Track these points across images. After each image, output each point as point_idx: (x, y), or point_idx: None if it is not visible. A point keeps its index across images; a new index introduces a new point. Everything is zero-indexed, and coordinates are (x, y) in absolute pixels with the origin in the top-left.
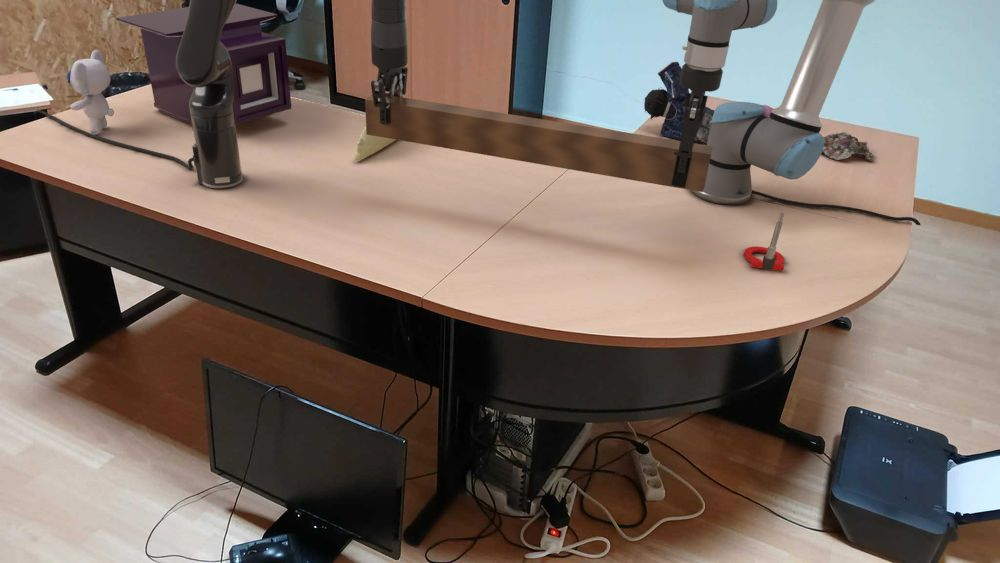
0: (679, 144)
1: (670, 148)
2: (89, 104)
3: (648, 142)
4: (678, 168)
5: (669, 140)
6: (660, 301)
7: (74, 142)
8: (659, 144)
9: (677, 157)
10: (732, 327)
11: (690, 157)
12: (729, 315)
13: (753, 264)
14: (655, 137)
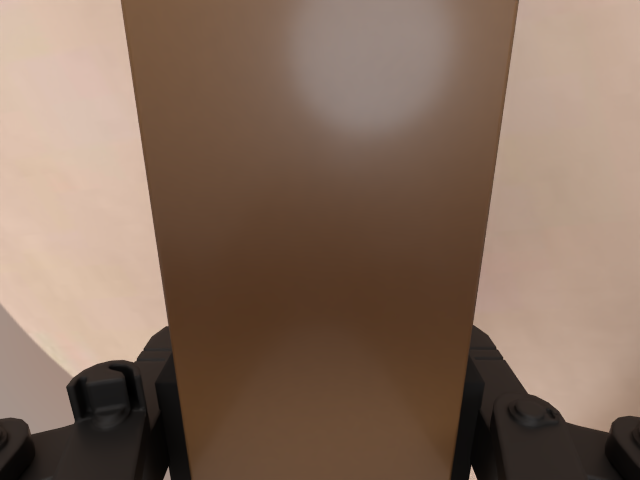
0: (342, 409)
1: (170, 336)
2: None
3: (221, 34)
4: (146, 347)
5: (431, 302)
6: (73, 203)
7: None
8: (225, 202)
9: (166, 370)
10: (64, 354)
11: (172, 475)
12: (107, 347)
13: None
14: (482, 112)
